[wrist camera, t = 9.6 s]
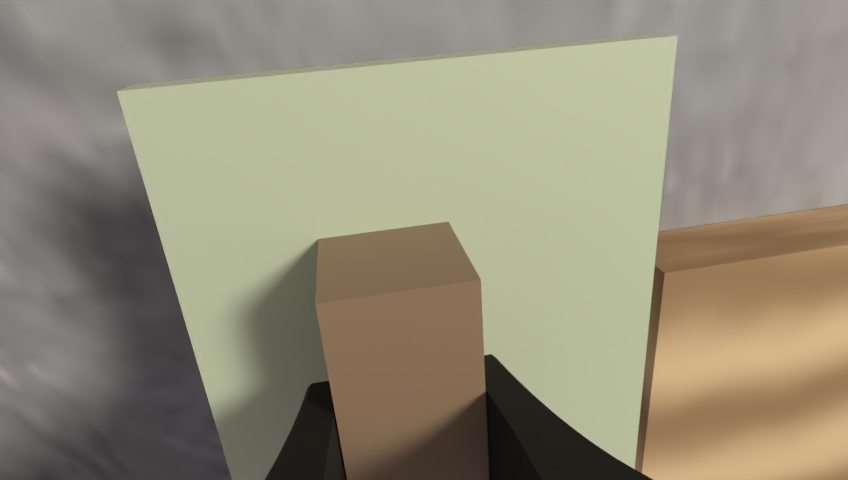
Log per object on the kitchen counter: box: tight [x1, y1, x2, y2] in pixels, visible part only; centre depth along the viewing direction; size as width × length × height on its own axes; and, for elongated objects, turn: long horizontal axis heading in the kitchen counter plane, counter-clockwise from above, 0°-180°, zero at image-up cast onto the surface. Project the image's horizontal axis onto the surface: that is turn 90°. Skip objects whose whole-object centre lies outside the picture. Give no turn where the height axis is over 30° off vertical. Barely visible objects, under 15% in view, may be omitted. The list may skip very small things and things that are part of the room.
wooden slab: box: [635, 204, 848, 480], centre depth 27 cm, size 21×12×4 cm, turn 5°
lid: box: [117, 34, 677, 480], centre depth 13 cm, size 15×12×4 cm
